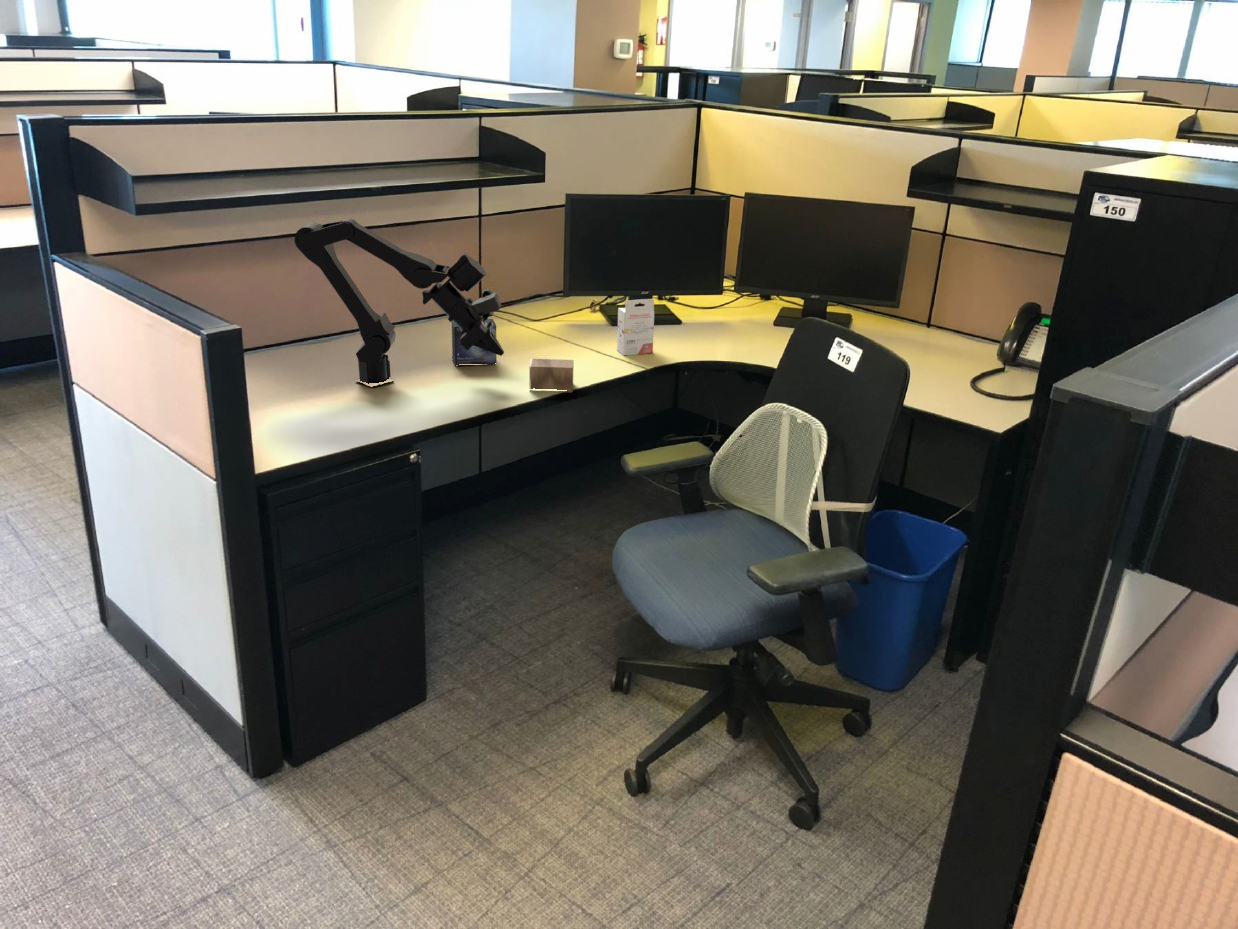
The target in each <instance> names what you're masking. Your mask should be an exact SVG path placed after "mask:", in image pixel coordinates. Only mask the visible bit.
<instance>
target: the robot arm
mask: <svg viewBox="0 0 1238 929" xmlns="http://www.w3.org/2000/svg"><path fill="white" fill-rule="evenodd" d="M293 240H294V244H295V247H296V248H297V250H299V251H300V252H301V253H302V255H303V256H304V257H305V258H306V259H307V260H309V261H310V262H311V263H312V264H314V265H315V266H316V267H318V268H319V269H320V270H321V272H322V273H323V275H324V276H325V278H326V280H327V281H328V282H329V283H330V285H331V286H332V289H333V290H334V291H335V292H336V293H337V295H338V297H339V298H340V299H341V301H342V302H343V304H344V306H345V307H346V308H347V310H348V311H349V312H350V314H351V316H352V317H353V319H355V322H356V323H357V327H358V330H359V333H360V334H359V335H360V337H361V338H362V341H363V344H362V345H361V346H360V347H359V349H358V350H357V351H356V353H355V355H356V358H357V362H358V375H359V376H358V377H359V378H358V379H360V381H362V382H366V383H368V384H369V383H379V382H384V381H386V380H387V379H389V377H390V378H391V377H392V375H391V362H390V360H389V355H388V354H386V353H388V352H389V350H390V349H391V347H392V346H393V344H395V342H396V341H395V340H396V338H397V334H396V331H395V328H396V326H395V325H394V324H393V323H392V322H391V321H390V319H389V317H388V315H387V314H386V312H383V313H382V314H381V315H380V314H379V313H377V312H376V311H374V310H373V308H372V306H371V305H370V303H369V302H368V301H367V300H366V298H365V297H364V295H363V293H362V292H361V291H360V289H359V288H358V286H357V284H356V283H355V282H354V280H353V278H351V276H350V275H349V273H348V272H347V270H346V269H345V267H344V266H343V264H342V263H341V261H340V260H339V259H338V257H337V253H336V250H335V247H334V244H335V243H338V242H343V241H348V242H350V243H352V244H353V245H355V246H357V247H358V248H361V249H362V250H364V251H366V252H367V253H368V254H371V255H372V256H374V257H375V258H377V259H379V260H380V261H383V262H384V263H386V264H387V265H389V266H391V267H393V268H394V269H395V270H397V272H398V273H399V274H400V275H401V276H402V277H403V278H404V279H405V280H406V281H407V282H409V283H410V284H411V285H412V286H413V287H415V288H417V289H420V290H423V291H422V292H421V294H422V304H423V305H425V306H426V304H427V303H429V301H431V300H432V301H433V302H434V303H435V304H436V305H437V306H438V307H439V309H440V310H441V311H442V312H443V313H445V315H446V316H447V320H448V321H449V323H450V322H451V323H452V321H453V322H454V323H455V324H456V325H457V326H458V327H459V328H460V329H461V333H462V334H463V335H462V337H461V339H460V346H461V347H462V348H463V349H464V350H465V351H467V350H468V349H469V348H470V347H472V346H476V347H479V348H482V349H485V350H487V351H490V352H492V353H495V354H496V356H497V355H498V356H500V357H502V356H503V355H504V354H505V351H504V349H503V347H502V346H501V343H500V342H499V340H498V339H497V336H496V337H495V335H494V333H493V331H492V325H493V321H491V322H490V323H488V324H487V323H486V322H485V323H484V321H485V320H486V319H489V318H492V317H493V316H494V313H495V312H498V311H500V310H501V307H502V303H501V301H500V299H499V295H498V294H497V292H493V291H492V290H490V289H489V288H487V289H485V290H483V291H482V293H481V297H479V298H478V299H476V300H473V299H472V298H471V297H467V298H466V297H465V295H463V294H462V292H464V291H465V292H470V291H471V290H472V289H473V288H475V287H476V285H477V284H479V283H480V282H481V281H482V280H483V279H484V278H485V277H487V275H488V274H487V272H486V270H485V269H484V267H483V265H482V264H480V262H479V261H477V260H475V259H474V258H472V257H471V256H469V255H468V254H467V253H465V252H463V253H462V255H461V256H460V257H459V258H458V259H457V260H456V261H455V262H454V263H453V264H452V265H451V266H450V265H444V264H439V263H436V262H435V261H434V260H433V259H431V258H428V257H426V256H423V255H422V254H420V253H419V254H418V253H414V252H411V251H407V250H405V249H402V248H400V247H399V246H397V245H395V244H394V243H392V242H391V241H389V240H387V239H386V238H384V237H382V236H380V235H379V234H377V233H375V232H373V231H371V230H370V229H368V228H366V227H365V226H363V225H361V224H359V222H357V221H356V220H355V219H354V218H345V219H343V220H339V221H333V222H329V223H323V224H322V223H318V222H309V223H306V224H305V225H304V226H302V227H301V228H299V229H298V230H297V231H296V232H295V234H294V239H293ZM447 277H448V278H447ZM445 279H446V280H445ZM443 281H444V282H443ZM433 284H434V285H433ZM432 285H433V286H432ZM431 286H432V287H431ZM430 287H431V288H430ZM427 288H430V289H428V290H427Z"/></svg>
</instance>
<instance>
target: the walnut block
mask: <svg viewBox="0 0 1238 929" xmlns="http://www.w3.org/2000/svg"><path fill="white" fill-rule="evenodd" d="M574 361H575V360H574V359H561V358H560V359H558V358H557V359H556V358H555V359H554V358H553V359H550V358H530V362H529V366H528V367H529V380H528V381H529V383H528V384H529V385H528V386H529V389H533V388H535V389H557V390H567V391H569V392H568V393H573V390H574V389H573V388H574Z"/></svg>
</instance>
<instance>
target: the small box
mask: <svg viewBox="0 0 1238 929" xmlns="http://www.w3.org/2000/svg"><path fill="white" fill-rule="evenodd" d="M491 321H493V325H492V331H493V333H494V335H495V337H496V338H497V324H496V322H495V320H494V318H487V319H486V320H485V321H484V323H485V322H486V323H487V324H488V323H490V322H491ZM462 335H463V334H462V333H461V329H460V328H459V327H458V326H457V325H456V324H455V323H454V322H453V321H451V348H452V349H451V352H452V356H451V359H453V360H452V362H453V361H454V362H453V365H454V364H455V365H459V364H495V363H497V354H495V353H492V352H490V351H487V350H485V349H482V348H479V347H476V346H472V347H470V348H469V349H468V350H467V351H465V350H464V349H463V348H462V347H461V346H460V339H461V337H462ZM455 365H454V366H455Z"/></svg>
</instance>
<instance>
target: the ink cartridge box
mask: <svg viewBox="0 0 1238 929" xmlns="http://www.w3.org/2000/svg"><path fill="white" fill-rule="evenodd" d="M639 304H641V305H642V306H636V305H639ZM624 305H625V306H624V307H618V309H617V336H616V337H617V340H616V342H617V343H616V350H617V352H618V353H620V354H621V355H622V356H624V355H627V356H636V355H647V354H653V351H654V329H655V328H654V327H655V300H654V298H641V299H631V300H630V299H629V300H628V299H627V300H625V302H624Z"/></svg>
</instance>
